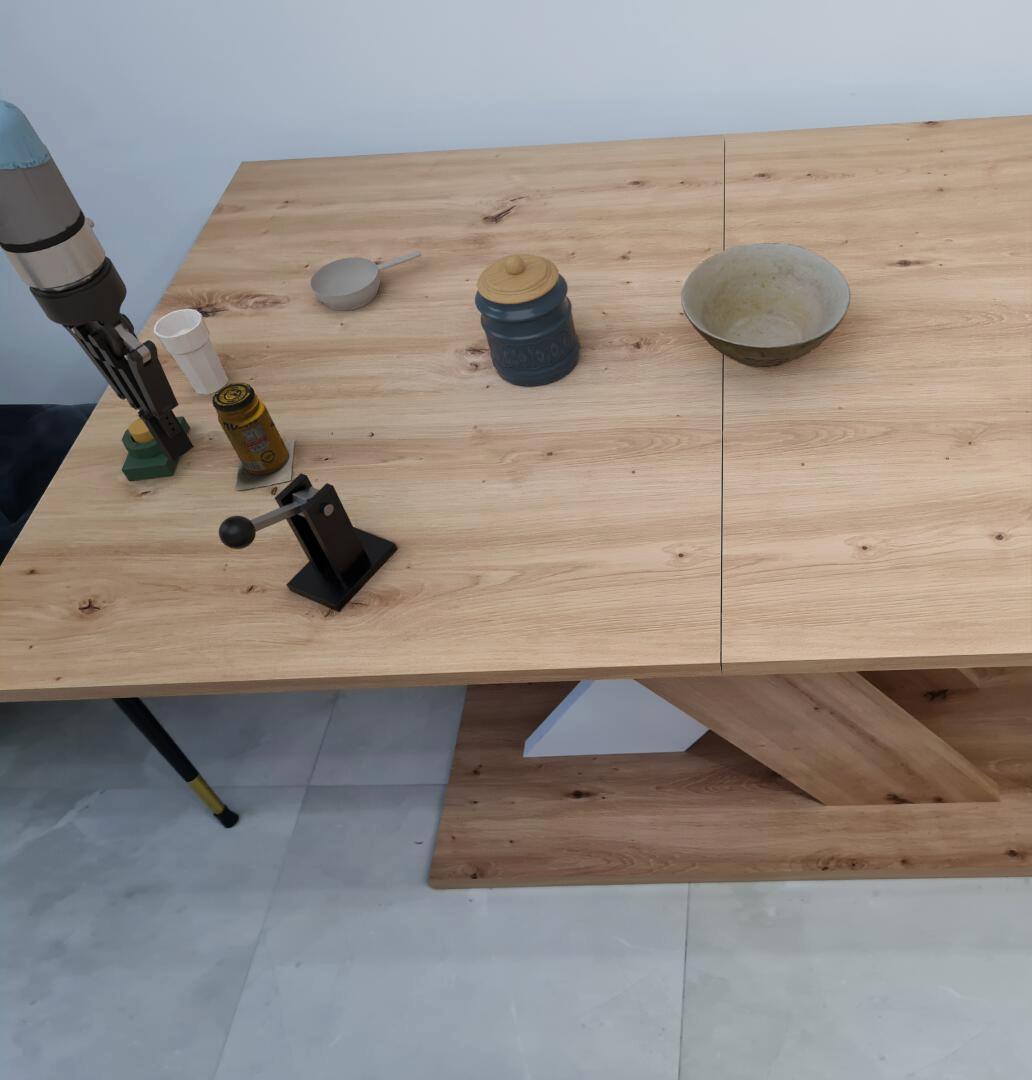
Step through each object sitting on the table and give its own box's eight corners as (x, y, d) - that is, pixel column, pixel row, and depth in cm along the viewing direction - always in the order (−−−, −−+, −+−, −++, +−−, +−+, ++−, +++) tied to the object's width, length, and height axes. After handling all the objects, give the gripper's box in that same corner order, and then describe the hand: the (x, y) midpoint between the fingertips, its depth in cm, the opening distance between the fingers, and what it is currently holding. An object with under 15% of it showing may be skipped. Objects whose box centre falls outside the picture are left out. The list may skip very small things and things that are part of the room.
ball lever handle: (236, 558, 111) (234, 528, 109) (212, 548, 112) (209, 518, 111) (331, 517, 122) (329, 488, 120) (308, 507, 123) (306, 480, 121)
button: (157, 441, 143) (151, 432, 141) (131, 445, 143) (125, 435, 141) (164, 424, 145) (158, 414, 144) (138, 427, 145) (132, 418, 144)
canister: (570, 324, 160) (549, 221, 147) (590, 374, 152) (569, 270, 138) (487, 345, 158) (457, 243, 145) (502, 397, 149) (472, 293, 136)
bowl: (881, 359, 149) (885, 301, 142) (737, 421, 143) (732, 363, 135) (794, 280, 164) (793, 223, 156) (659, 333, 157) (651, 276, 150)
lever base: (339, 612, 125) (296, 534, 115) (289, 590, 128) (243, 513, 117) (397, 549, 131) (362, 470, 121) (349, 529, 134) (310, 451, 124)
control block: (174, 475, 143) (161, 454, 140) (127, 481, 143) (112, 460, 140) (192, 427, 150) (179, 406, 147) (146, 432, 150) (132, 411, 147)
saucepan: (312, 287, 172) (304, 267, 169) (419, 256, 176) (413, 236, 173) (323, 322, 165) (315, 301, 162) (435, 288, 169) (428, 268, 166)
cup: (179, 388, 156) (143, 328, 148) (215, 364, 159) (182, 304, 151) (206, 403, 153) (172, 342, 145) (242, 378, 157) (211, 317, 149)
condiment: (294, 440, 146) (260, 372, 138) (291, 481, 141) (255, 413, 132) (241, 450, 146) (204, 383, 137) (236, 492, 140) (196, 425, 131)
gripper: (142, 268, 99) (244, 451, 116) (63, 233, 104) (172, 413, 121) (72, 310, 95) (188, 493, 112) (-6, 271, 100) (116, 452, 118)
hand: (179, 451), depth 117 cm, fingers closed
